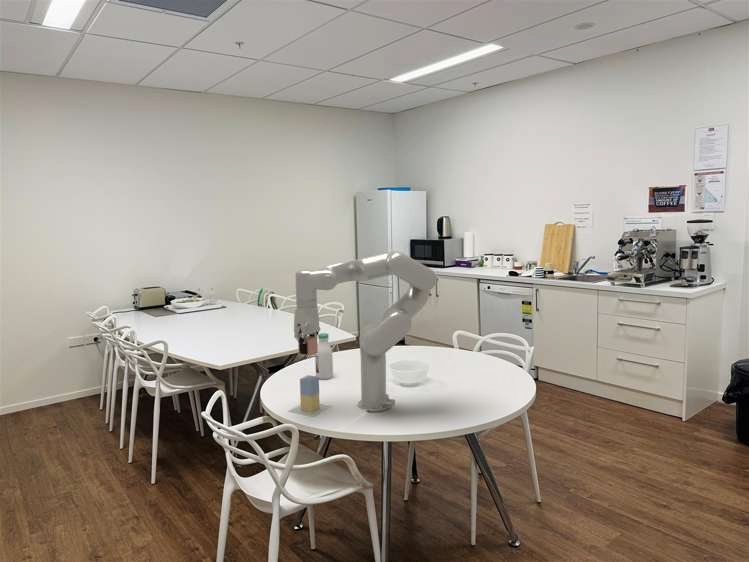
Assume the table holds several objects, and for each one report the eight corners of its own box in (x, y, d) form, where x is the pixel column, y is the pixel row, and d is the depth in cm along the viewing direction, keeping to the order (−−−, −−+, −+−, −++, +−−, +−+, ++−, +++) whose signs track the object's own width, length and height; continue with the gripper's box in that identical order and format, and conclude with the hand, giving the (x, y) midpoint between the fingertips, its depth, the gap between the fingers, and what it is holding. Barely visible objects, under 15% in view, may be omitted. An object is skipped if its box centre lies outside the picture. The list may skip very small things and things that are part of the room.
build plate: (332, 408, 207) (332, 406, 207) (313, 419, 196) (313, 416, 196) (306, 403, 213) (306, 401, 213) (287, 413, 202) (287, 411, 202)
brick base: (319, 407, 205) (319, 392, 205) (311, 412, 201) (311, 396, 200) (308, 405, 208) (308, 390, 207) (300, 409, 204) (300, 394, 203)
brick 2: (319, 392, 205) (318, 376, 204) (311, 396, 200) (310, 380, 200) (308, 390, 207) (307, 375, 206) (300, 394, 203) (299, 378, 202)
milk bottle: (335, 375, 248) (334, 332, 246) (329, 380, 241) (328, 336, 239) (319, 374, 251) (318, 331, 248) (313, 379, 243) (311, 335, 241)
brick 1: (317, 352, 203) (317, 337, 202) (309, 356, 198) (309, 339, 198) (306, 351, 205) (306, 335, 204) (298, 354, 201) (298, 338, 200)
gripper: (312, 299, 209) (313, 345, 211) (283, 306, 194) (285, 356, 196) (328, 300, 205) (329, 348, 207) (300, 308, 190) (302, 358, 193)
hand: (308, 351), depth 202 cm, fingers closed on brick 1, 5 cm apart
